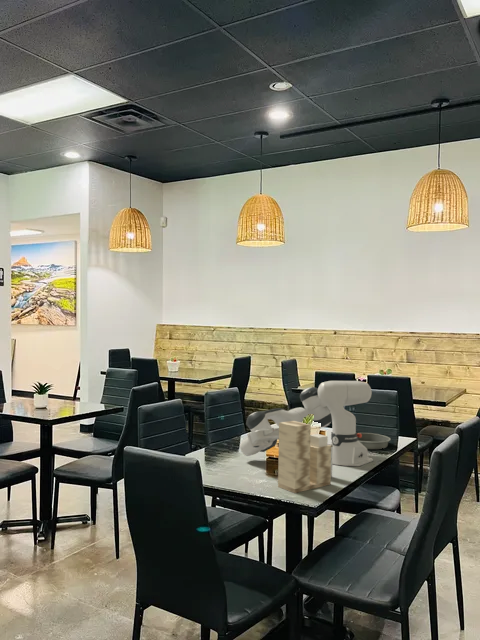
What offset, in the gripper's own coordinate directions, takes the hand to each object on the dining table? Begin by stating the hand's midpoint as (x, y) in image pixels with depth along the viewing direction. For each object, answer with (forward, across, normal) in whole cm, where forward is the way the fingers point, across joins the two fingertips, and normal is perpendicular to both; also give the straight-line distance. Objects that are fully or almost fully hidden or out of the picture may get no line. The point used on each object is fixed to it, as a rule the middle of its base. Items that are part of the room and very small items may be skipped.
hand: (281, 428), depth 252 cm
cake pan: (-22, -76, -10) cm, 80 cm away
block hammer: (+13, 0, -11) cm, 17 cm away
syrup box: (+5, -10, -25) cm, 28 cm away
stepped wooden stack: (+10, +6, -27) cm, 30 cm away
